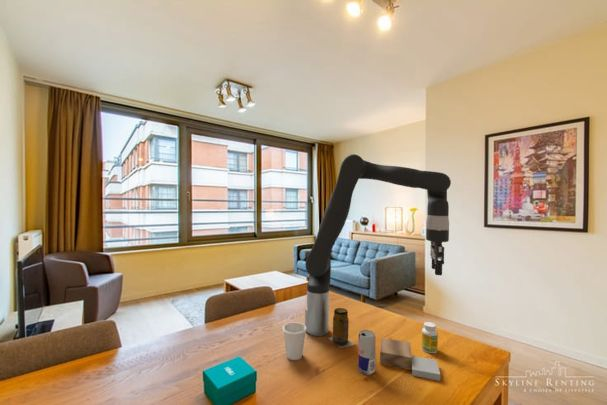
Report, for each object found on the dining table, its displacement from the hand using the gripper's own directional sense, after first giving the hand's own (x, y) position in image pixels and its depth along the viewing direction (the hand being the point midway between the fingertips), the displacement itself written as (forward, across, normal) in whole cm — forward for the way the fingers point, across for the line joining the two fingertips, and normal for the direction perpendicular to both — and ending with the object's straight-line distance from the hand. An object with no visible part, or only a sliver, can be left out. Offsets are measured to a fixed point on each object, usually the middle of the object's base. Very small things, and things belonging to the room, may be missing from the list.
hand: (436, 271), depth 101 cm
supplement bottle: (+29, 0, -2) cm, 29 cm away
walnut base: (+29, +10, -14) cm, 34 cm away
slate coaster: (+29, +14, -5) cm, 33 cm away
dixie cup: (+30, +20, -48) cm, 60 cm away
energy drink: (+29, +20, -23) cm, 42 cm away
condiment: (+30, +5, -34) cm, 45 cm away
